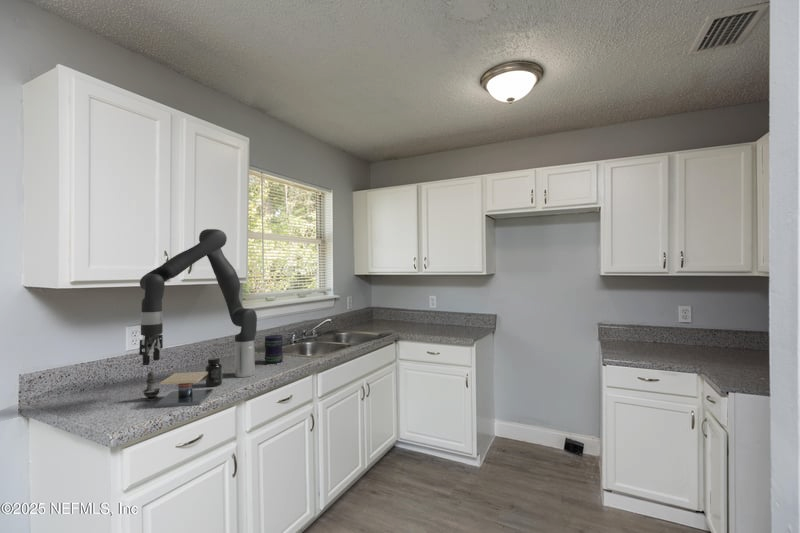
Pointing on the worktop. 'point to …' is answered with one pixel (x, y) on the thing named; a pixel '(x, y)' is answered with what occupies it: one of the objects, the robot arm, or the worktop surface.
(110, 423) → the worktop surface
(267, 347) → the storage jar
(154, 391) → the stone finial
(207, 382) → the supplement bottle
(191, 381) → the stand
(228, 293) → the robot arm
